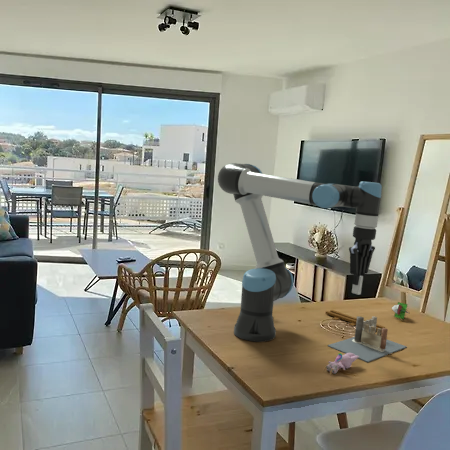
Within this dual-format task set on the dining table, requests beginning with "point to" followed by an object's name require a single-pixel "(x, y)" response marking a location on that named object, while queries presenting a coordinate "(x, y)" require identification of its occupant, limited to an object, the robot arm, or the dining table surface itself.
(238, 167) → the robot arm
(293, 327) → the dining table surface
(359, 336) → the white fence section
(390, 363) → the dining table surface
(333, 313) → the decorative fence
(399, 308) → the geometric puzzle
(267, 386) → the dining table surface
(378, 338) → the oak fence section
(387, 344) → the board
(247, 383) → the dining table surface
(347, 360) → the rabbit figure
